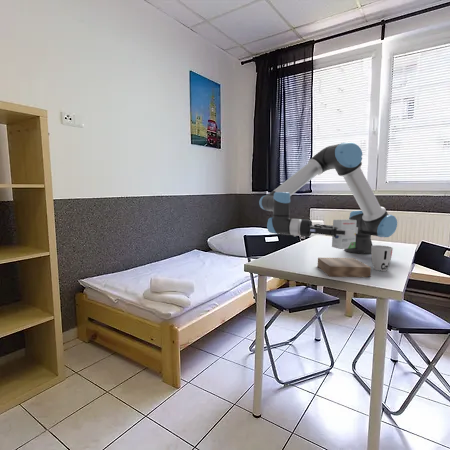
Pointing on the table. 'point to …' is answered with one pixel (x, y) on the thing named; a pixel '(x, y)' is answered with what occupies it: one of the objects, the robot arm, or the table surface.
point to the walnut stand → (344, 267)
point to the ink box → (344, 241)
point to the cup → (381, 257)
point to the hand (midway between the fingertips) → (356, 231)
